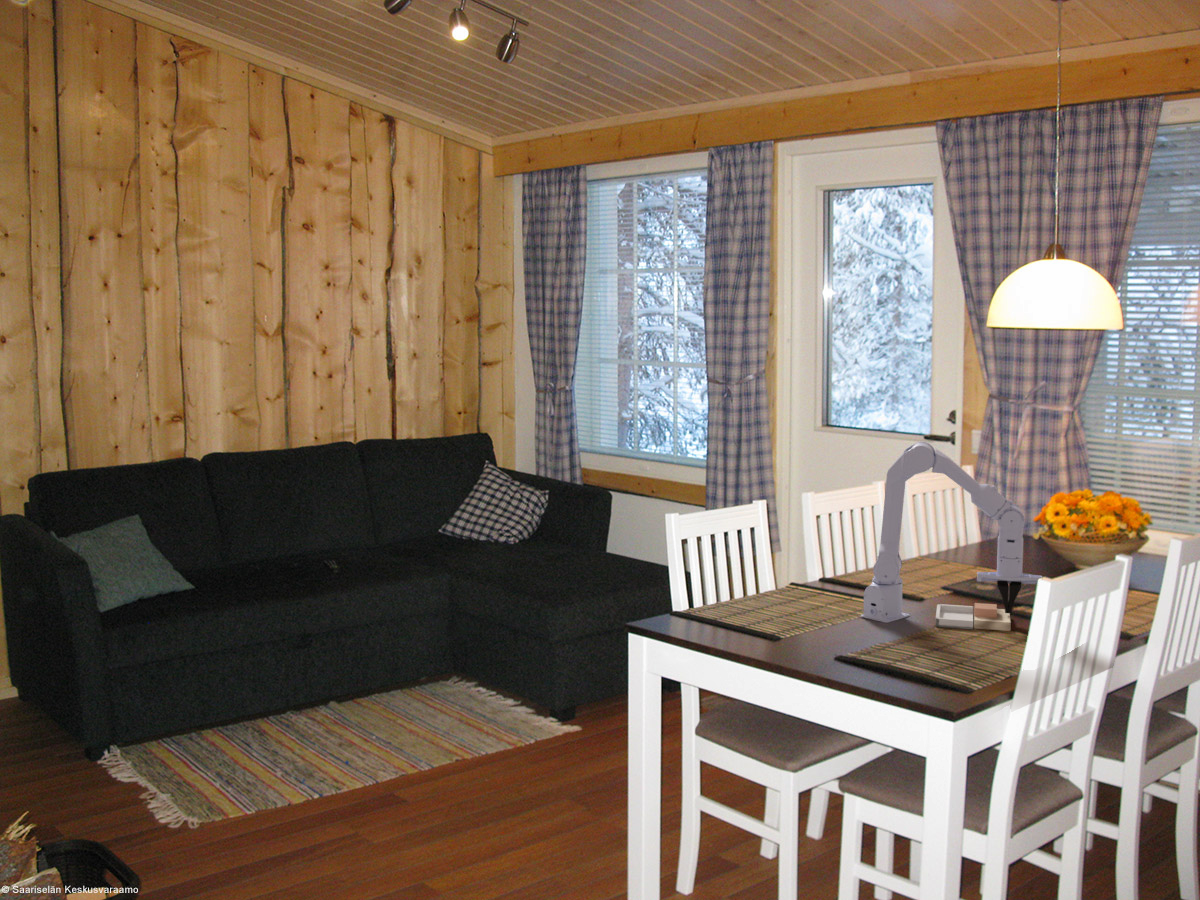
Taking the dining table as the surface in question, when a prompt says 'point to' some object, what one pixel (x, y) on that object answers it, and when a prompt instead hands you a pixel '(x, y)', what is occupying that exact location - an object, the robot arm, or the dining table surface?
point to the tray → (954, 616)
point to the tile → (985, 610)
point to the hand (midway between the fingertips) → (1008, 612)
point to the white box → (994, 621)
